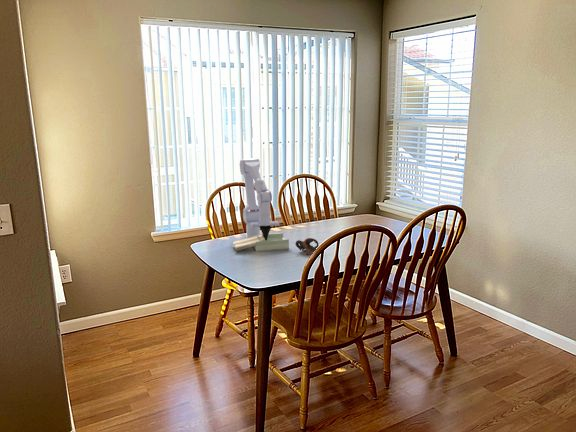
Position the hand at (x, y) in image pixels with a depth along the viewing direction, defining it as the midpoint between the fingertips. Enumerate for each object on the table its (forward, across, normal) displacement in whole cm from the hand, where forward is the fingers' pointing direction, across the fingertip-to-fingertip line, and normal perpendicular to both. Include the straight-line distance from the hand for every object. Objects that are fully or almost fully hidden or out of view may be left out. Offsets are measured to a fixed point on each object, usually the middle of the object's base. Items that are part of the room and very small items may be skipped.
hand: (265, 239), depth 253 cm
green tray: (+4, +2, 0) cm, 5 cm away
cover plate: (+1, -8, 0) cm, 8 cm away
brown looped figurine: (+4, +18, -14) cm, 24 cm away
